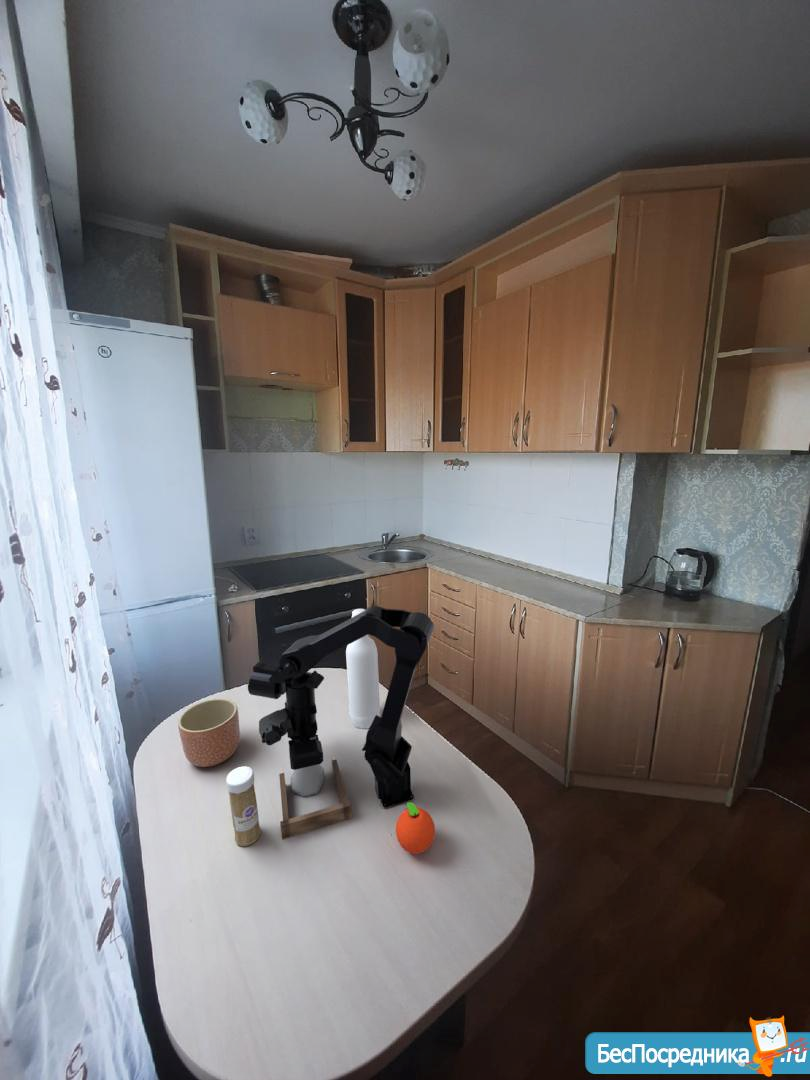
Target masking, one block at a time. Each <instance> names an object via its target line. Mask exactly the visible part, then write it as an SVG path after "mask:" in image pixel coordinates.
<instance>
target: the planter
mask: <svg viewBox="0 0 810 1080" xmlns="http://www.w3.org/2000/svg"><path fill="white" fill-rule="evenodd" d="M177 723H178V724H177V726H178V733H179V737H180V741H181V745H182V750H183V753H184V756H185V758H186V759H187V761H188V762H189V763H190V764H191V765H193V766H196V767H200V768H207V767H214V766H218V765H219V764H222V763H224V762H225V761H226V760H228V759H229V758H231V756H232V755H234V753H235V752H236V750H237V749H238V747H239V745H240V740H241V731H240V719H239V710H238V706H237V703H236V702H235V701H234V700H232V699H229V698H226V697H223V698H222V697H216V698H210V699H206V700H202V701H200V702H197V703H196V704H194V705H191V706H190V707H188V708H187V709H186V710H184V712H182V714H181V715H180V716H179V718H178V722H177Z"/></svg>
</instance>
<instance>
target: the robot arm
mask: <svg viewBox="0 0 810 1080" xmlns="http://www.w3.org/2000/svg"><path fill="white" fill-rule="evenodd" d="M434 629H435V626H434V622H433V621H432V619H431V618H430V617H429V616H428V615H427V614H425V613H423V612H418V611H417V612H412V611H408V610H405V609H400V608H398V609H396V608H384V607H382V606H379V605H371V606H368V607H367V608H366V609H365V611H363V612H361V613H360V614H358V615H356V616H354V617H352V616H351V618H348V619H347V620H345V621H343V622H342V623H339V624H338V625H336V626H334V627H333V628H330V629H328V630H327V631H325V632H322V633H321V634H318V635H309V636H305V637H302V638H299V639H297V640H296V641H295V642H294V643H292V644H291V645H290V646H289V647H288V648H287V649H286V650H285V651H284V652H283V653H282V654H281V655H280V656H279V660H278V663H279V665H276V664H268V663H265V662H261V661H258V662H257V663H255V664H254V666H253V667H252V673H251V675H250V676H249V677H250V678H249V681H248V684H247V691H248V694H249V695H252V696H257V697H263V698H266V699H267V698H268V699H273V700H278V699H279V698H280V697H282V695H285V697H286V699H285V702H284V708H282V709H278V710H275V711H273V712H271V713H269V714H267V715H265V716H263V717H261V718H260V720H259V721H258V733H259V735H260V737H261V743H262V744H266V745H267V746H272V745H274V744H277V743H278V742H280V741H281V740H282V737H284V736H286V735H287V738H288V739H289V740H288V750H289V751H288V753H289V762H290V763H289V764H290V765H289V766H290V769H291V770H293V771H294V770H296V769H301V768H305V767H309V766H314V765H318V764H320V765H322V763H323V762H324V752H323V751H324V749H323V746H322V742H321V740H319V735H318V734H317V733H318V731H319V730H318V723H317V713H318V711H317V710H318V709H317V704H316V693H315V690H316V689H318V688H319V687H320V685H321V684H322V682H323V681H324V680H325V676H323V675H322V674H321V673H319V672H318V671H317V670H313V672H311V671H310V670H312V668H314V667H315V666H316V665H317V664H318V663H319V662H320V661H322V660H323V659H324V658H326V657H327V656H329V655H330V654H334V652H337V651H339V650H340V649H343V648H344V647H347V645H349V644H350V643H352V642H354V641H356V640H358V639H360V638H362V637H364V636H366V635H368V636H373V637H375V638H376V639H378V640H379V641H381V642H382V643H383V644H385V646H387V647H389V648H393V649H394V659H395V666H394V668H393V669H394V670H393V672H392V673H393V674H392V676H391V679H390V680H391V681H390V684H389V687H388V691H387V695H386V698H385V701H384V706H383V709H382V713H381V715H380V717H379V716H377V715H376V716H375V718H374V720H373V722H372V724H371V726H370V728H368V730H367V732H366V736H365V742H364V744H363V747H362V749H361V751H363V752H364V754H363V755H364V760H365V761H367V763H368V765H369V766H370V768H371V771H372V774H373V776H374V786H375V787H374V790H375V794H376V796H377V798H378V799H379V800H380V802H381V805H382V807H383V808H384V809H388V808H390V807H393V806H397V805H400V804H403V803H408V802H410V801H414V800H415V795H414V792H413V791H412V779H411V777H412V775H411V774H412V773H411V772H412V770H411V765H410V764H409V762H408V760H409V758H410V756H411V755H410V754H411V751H412V747H413V746H412V745H411V744H410V743H409V742H408V741H407V740H406V739H405V738H404V737H403V735H402V731H403V729H402V728H403V726H402V717H403V713H404V710H405V706H406V702H407V699H408V695H409V693H410V689H411V686H412V682H413V678H414V675H415V672H416V669H417V666H418V664H419V662H420V661H421V658H422V657H423V656H424V653H425V651H426V649H427V646H428V645H429V642H430V640H431V637H432V636H433V635H432V634H433V632H434ZM309 671H310V672H309Z"/></svg>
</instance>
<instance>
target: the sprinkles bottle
mask: <svg viewBox="0 0 810 1080" xmlns="http://www.w3.org/2000/svg"><path fill="white" fill-rule="evenodd" d="M253 770H254V769H252V767H249V766H246V765H245V766H239V767H236V768H234V769H233V770H231V771H230V772H229V773H228V774H227V775H226V779H225V782H226V789H227V791H228V795H229V807H230V814H231V820H232V827H233V831H234V842H235V844H236V845H238V846H241V847H247V846H250V845H252V844H254V843H255V842H256V841H257V840H258V839H259V837H260V835H261V831H262V830H261V827H260V822H259V810H258V803H257V795H256V790H255V774H254V771H253Z"/></svg>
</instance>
